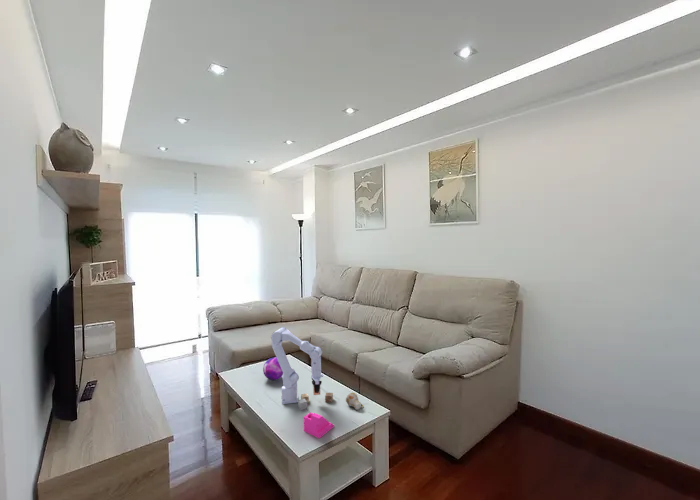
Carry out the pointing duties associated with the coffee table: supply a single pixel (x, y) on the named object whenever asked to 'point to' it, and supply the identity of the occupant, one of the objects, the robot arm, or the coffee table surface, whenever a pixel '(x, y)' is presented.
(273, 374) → the decorative orb
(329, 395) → the walnut cube
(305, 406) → the slate cube
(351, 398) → the cream patterned bulbous figurine
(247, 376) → the coffee table surface
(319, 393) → the terracotta cube
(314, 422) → the bracket
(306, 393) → the beech cube
